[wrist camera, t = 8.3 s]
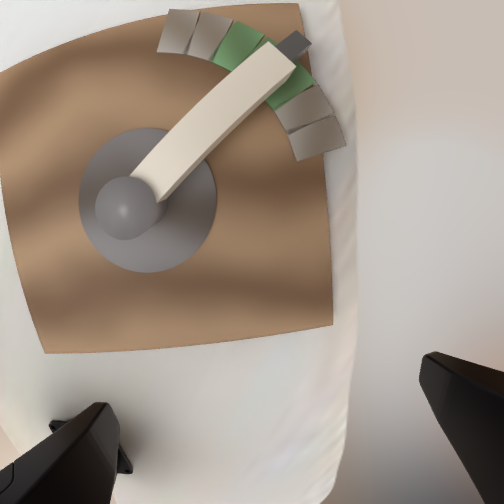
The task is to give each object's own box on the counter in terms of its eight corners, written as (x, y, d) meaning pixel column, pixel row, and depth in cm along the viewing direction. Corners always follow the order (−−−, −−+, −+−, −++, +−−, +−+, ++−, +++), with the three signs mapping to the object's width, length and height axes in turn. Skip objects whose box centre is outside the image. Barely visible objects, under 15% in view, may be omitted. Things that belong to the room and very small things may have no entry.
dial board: (347, 313, 21) (354, 322, 19) (51, 345, 20) (43, 354, 18) (314, 9, 16) (320, -1, 14) (7, 73, 15) (-3, 69, 13)
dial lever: (143, 238, 17) (126, 253, 14) (107, 204, 16) (84, 211, 13) (311, 71, 15) (329, 52, 12) (274, 37, 15) (284, 12, 12)
